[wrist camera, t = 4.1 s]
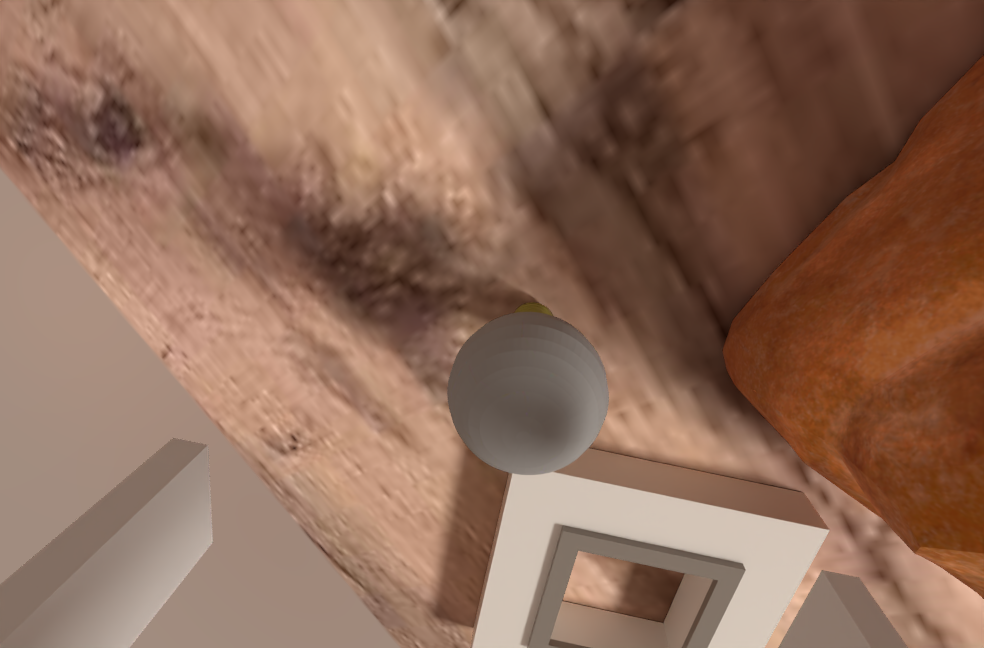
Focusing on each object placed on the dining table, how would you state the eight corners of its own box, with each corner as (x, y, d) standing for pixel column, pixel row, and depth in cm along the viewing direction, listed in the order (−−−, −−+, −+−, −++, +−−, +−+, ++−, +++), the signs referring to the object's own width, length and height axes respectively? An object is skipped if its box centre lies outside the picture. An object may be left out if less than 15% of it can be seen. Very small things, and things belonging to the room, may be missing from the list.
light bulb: (554, 240, 23) (557, 319, 14) (612, 337, 24) (651, 469, 15) (454, 299, 24) (396, 406, 15) (514, 387, 26) (495, 534, 16)
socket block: (517, 433, 27) (514, 469, 24) (803, 492, 26) (834, 536, 23) (473, 628, 32) (466, 676, 30) (707, 681, 32) (722, 734, 29)
